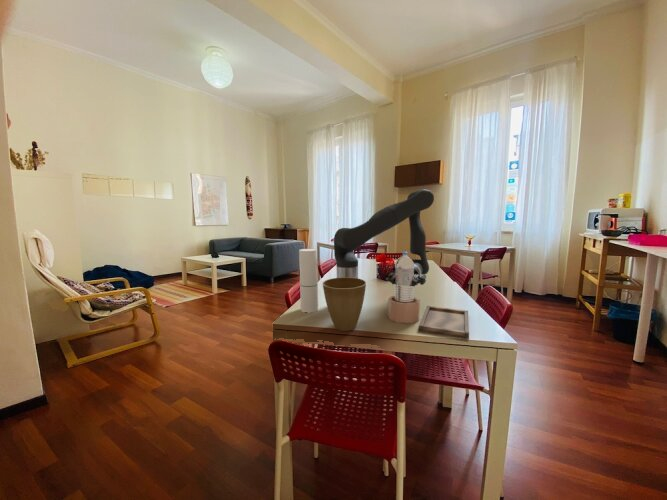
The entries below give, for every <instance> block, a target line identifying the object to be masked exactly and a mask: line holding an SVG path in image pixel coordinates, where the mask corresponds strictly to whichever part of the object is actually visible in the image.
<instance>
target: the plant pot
mask: <svg viewBox="0 0 667 500" xmlns="http://www.w3.org/2000/svg"><path fill="white" fill-rule="evenodd" d="M366 288H367V281H366V280H364V279H361V278H359V277H358V278H349V277H343V278H337V277H333V278H330V279H329V278H328V279H326V280H324V281H323V282H322V289H323V293H324V299H325V302H326V308H327V310H328V314H329V316H330V319H331V321H332V323H333V327H334V328H335V329H336V330H338V331H342V332H348V331H349V332H350V331H352V330H354V329H356V327H357V324H358V322H359V320H360V315H361V313H362V308H363V305H364V301H365V294H366Z"/></svg>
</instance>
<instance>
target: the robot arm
mask: <svg viewBox="0 0 667 500" xmlns="http://www.w3.org/2000/svg"><path fill="white" fill-rule="evenodd" d="M434 201H435V196H434V193H433V192H432V191H431V190H429V189H418V190H415V191H412V192H410V193H409V194H408V195H407V199H405V200H402V201H399V202H397V203H392V204H391V205H388V206H385V207H383V208H381V209H380V210H378V211H376V212H374V214H373V215H371V216H370V218H369V219H368V220H367V221H366V222H364V223H361V224H359V225H356V226H354V227H351V228H350V227H342V228H341V227H340V228H339V229H337V230H336V232H335V233H334V236H333V250H334V251H333V253H334V260H335V262H336V263H335V264H336V265H335V267H336V278H343V277H349V278H358V279H359V259H358V258H357V257H356V255H355V252H354V251H355V250H357V249H359V248H361V247H362V246H363V245H364V244H366V243H367V242H368V241H371V239H373V238H375V237H377V236H379V235H381V234H382V233H384V232H386V231H388V230H390V229H392V228H394V227H395V226H397V225H398V224H400V223H402V222H404V221H405V220H406V219H408V221H409V224H408V225H409V231H410V232H409V235H410V237H409V238H410V241H409V253H410V254H412V255H417V256H418V257H420V259H419V258H418V259H415V258H414V259H413V258H411V259H412V261H413V262H414V279H413V282H412V286H414V287H416V286H418V285H419V284H420V285H421V286H423V285H425V284H426V282H427V274H428V273H429V271H430V264H429V262H428V258H427V253H426V251H427V250H426V244H427V243H426V241H427V237H426V233H425V230H424V228H423V225H422V222H421V211H425V210H428V209H429V208H430V207H431V206H432V205H433V203H434ZM388 282H389V283H390V284H392V285H395V272H390V273H389V274H388Z"/></svg>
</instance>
